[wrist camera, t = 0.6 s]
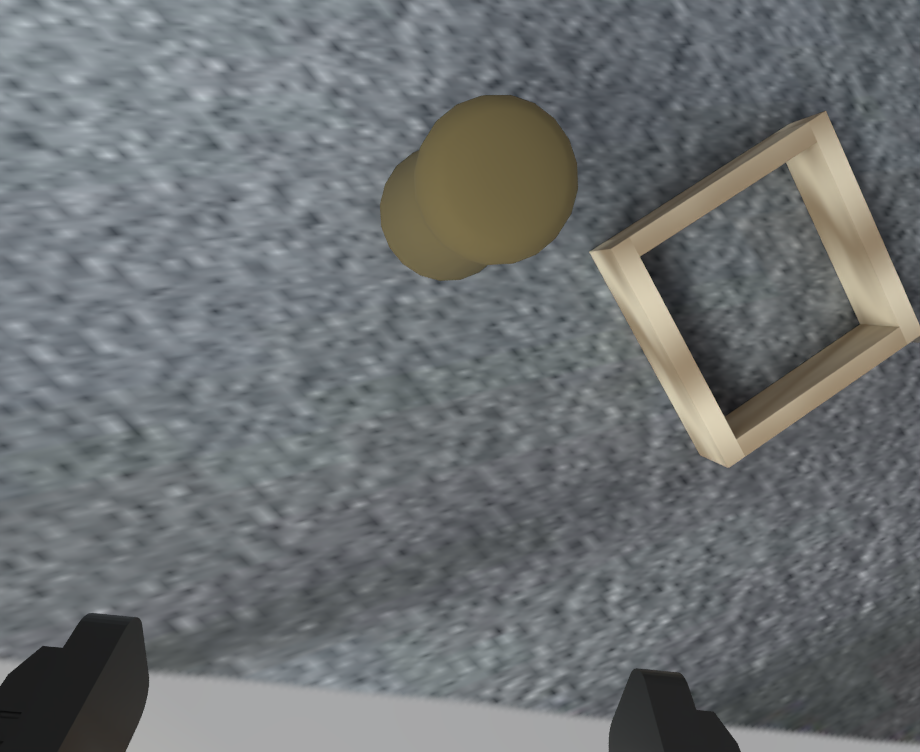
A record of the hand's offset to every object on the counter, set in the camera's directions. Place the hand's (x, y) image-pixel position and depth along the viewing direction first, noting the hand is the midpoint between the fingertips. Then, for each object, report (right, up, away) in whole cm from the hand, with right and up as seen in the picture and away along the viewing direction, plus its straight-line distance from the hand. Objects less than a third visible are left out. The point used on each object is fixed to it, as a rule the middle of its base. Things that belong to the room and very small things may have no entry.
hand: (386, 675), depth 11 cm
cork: (+1, +12, +19) cm, 23 cm away
